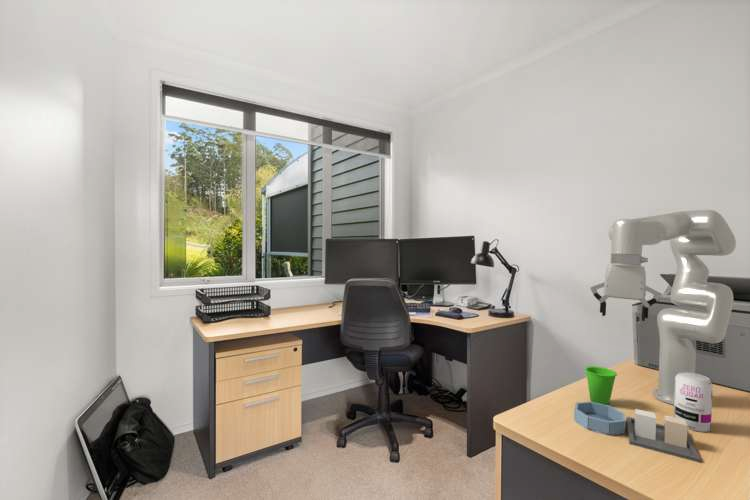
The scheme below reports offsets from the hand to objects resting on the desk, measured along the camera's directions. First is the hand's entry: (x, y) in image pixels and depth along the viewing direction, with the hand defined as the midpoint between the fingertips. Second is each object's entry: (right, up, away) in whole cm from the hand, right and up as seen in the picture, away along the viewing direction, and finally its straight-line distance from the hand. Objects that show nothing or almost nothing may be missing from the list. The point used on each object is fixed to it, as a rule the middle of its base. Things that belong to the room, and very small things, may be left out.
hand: (622, 317), depth 106 cm
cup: (+1, -31, +13) cm, 34 cm away
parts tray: (+4, -32, -9) cm, 33 cm away
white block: (+1, -31, -7) cm, 32 cm away
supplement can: (+19, -32, -1) cm, 37 cm away
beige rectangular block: (+6, -31, -11) cm, 34 cm away
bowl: (-8, -31, -1) cm, 32 cm away
